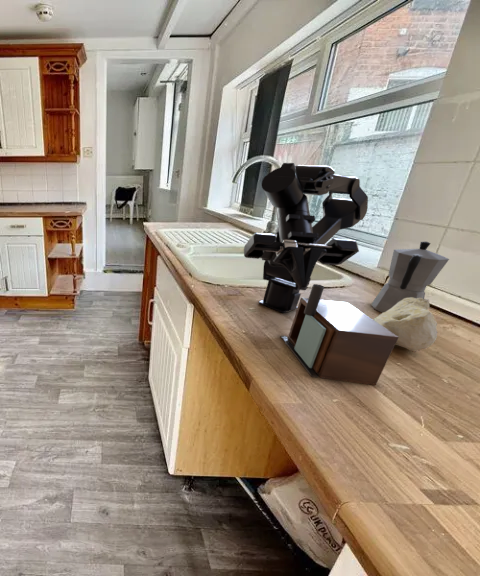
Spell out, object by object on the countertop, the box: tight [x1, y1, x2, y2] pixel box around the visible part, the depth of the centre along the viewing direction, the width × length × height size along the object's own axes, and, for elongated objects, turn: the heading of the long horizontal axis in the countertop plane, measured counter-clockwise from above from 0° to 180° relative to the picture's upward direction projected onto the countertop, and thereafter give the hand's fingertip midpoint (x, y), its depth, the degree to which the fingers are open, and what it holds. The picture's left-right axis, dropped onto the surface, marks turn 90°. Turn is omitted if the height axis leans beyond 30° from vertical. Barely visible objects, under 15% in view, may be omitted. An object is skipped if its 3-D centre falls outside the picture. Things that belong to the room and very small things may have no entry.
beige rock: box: [372, 297, 438, 353], centre depth 62 cm, size 15×7×15 cm
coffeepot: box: [370, 240, 450, 314], centre depth 74 cm, size 15×9×18 cm, turn 129°
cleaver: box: [294, 283, 326, 369], centre depth 52 cm, size 6×2×13 cm, turn 171°
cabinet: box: [280, 297, 399, 386], centre depth 54 cm, size 13×10×9 cm
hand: (303, 287), depth 57 cm, fingers closed
